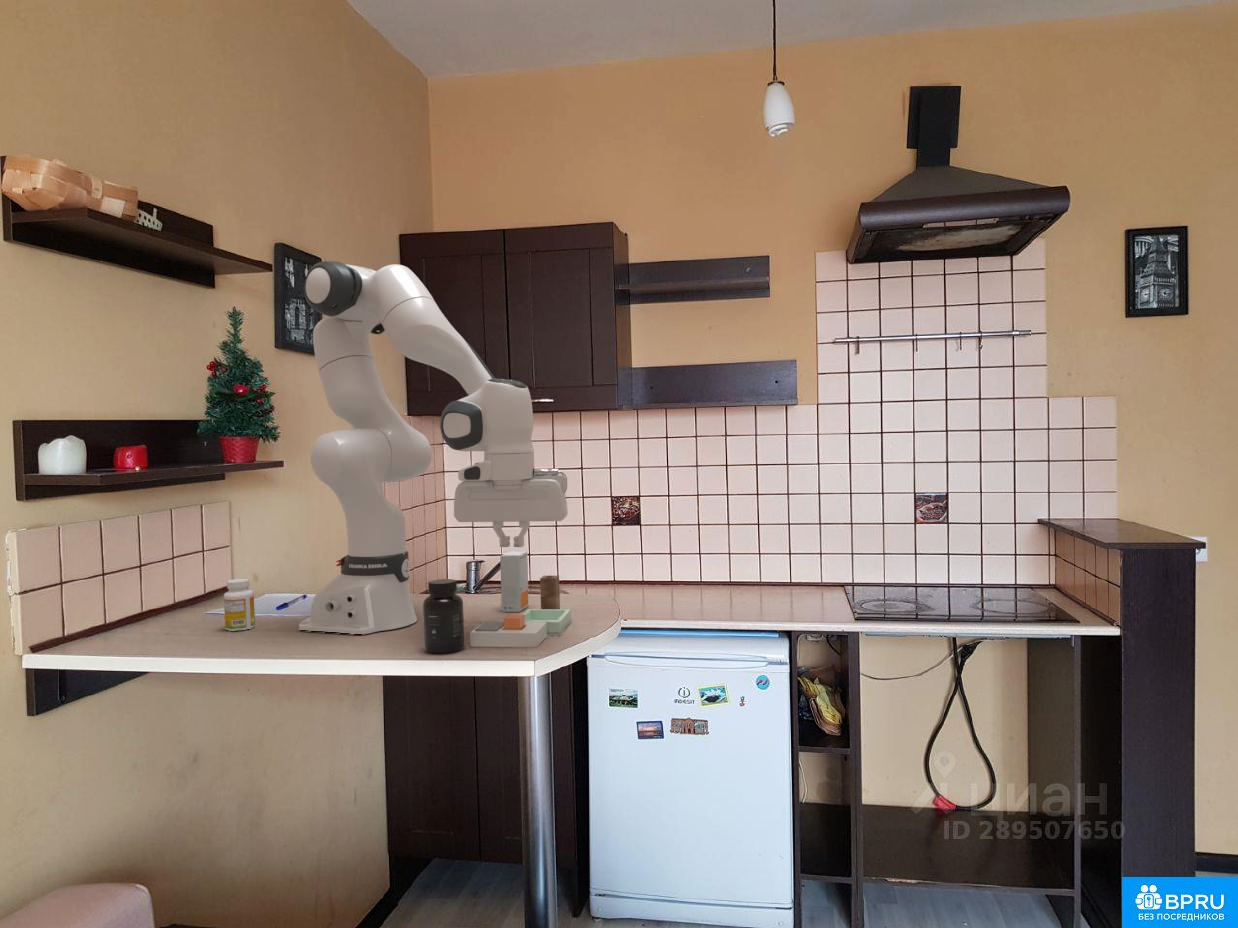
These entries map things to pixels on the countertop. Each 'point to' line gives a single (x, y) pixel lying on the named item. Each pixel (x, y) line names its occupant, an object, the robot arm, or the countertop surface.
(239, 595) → the supplement bottle
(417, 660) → the countertop surface
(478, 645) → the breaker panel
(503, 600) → the skincare box
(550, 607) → the wooden block
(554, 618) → the bay tray
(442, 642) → the supplement bottle
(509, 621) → the button
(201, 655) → the countertop surface
